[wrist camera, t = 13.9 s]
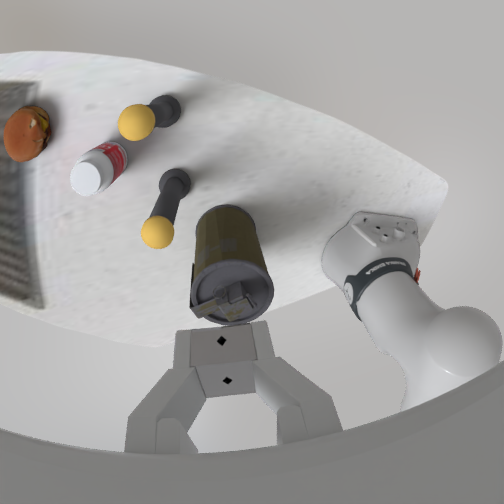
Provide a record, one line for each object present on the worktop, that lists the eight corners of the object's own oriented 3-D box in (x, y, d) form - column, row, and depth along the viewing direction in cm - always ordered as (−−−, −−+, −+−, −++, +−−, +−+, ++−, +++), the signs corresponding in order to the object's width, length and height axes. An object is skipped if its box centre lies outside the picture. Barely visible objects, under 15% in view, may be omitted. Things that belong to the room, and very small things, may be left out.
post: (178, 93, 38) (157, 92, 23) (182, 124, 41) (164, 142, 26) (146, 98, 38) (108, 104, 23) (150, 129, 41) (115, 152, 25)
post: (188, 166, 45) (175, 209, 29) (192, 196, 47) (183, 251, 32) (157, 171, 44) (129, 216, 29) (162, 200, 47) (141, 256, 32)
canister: (240, 194, 48) (257, 258, 31) (264, 243, 53) (290, 320, 36) (182, 222, 49) (169, 298, 32) (211, 267, 55) (213, 350, 38)
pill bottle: (120, 135, 40) (95, 148, 31) (133, 169, 43) (113, 191, 34) (88, 150, 40) (58, 167, 31) (101, 182, 44) (76, 208, 34)
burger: (6, 139, 36) (-9, 145, 32) (28, 95, 33) (13, 98, 29) (38, 168, 40) (25, 176, 36) (62, 124, 37) (49, 129, 33)
